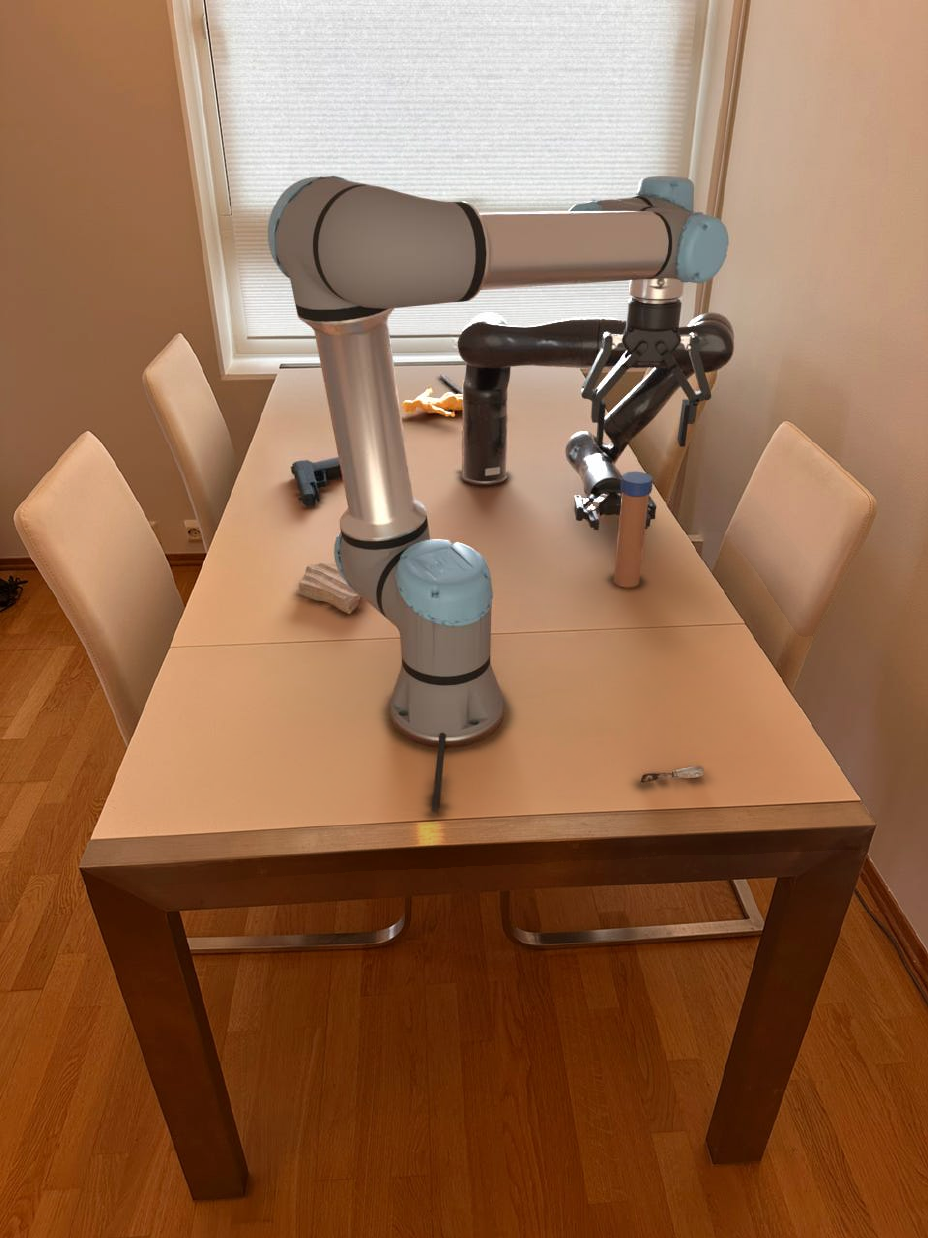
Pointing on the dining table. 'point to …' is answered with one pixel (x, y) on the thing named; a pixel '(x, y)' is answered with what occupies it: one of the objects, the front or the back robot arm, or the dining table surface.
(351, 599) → the stone
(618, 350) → the back robot arm
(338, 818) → the dining table surface
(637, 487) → the lid
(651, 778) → the putty knife
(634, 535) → the tall tan cylinder
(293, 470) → the handgun
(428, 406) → the human figure
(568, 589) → the dining table surface
